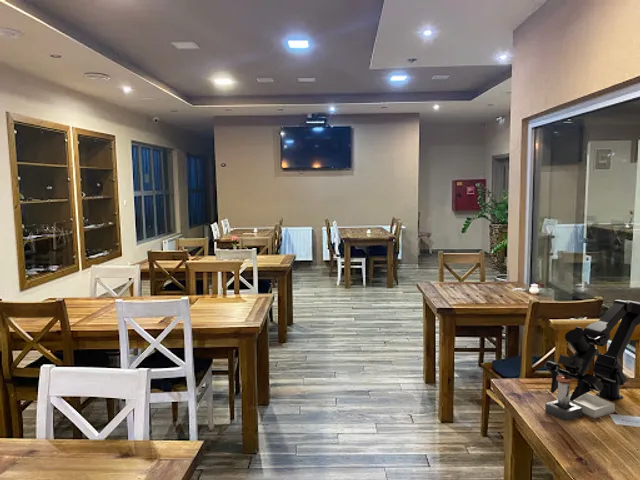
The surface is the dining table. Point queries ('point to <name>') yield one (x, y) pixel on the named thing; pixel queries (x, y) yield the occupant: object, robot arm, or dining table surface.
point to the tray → (594, 405)
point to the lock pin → (564, 391)
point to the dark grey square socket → (563, 411)
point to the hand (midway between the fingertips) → (561, 396)
